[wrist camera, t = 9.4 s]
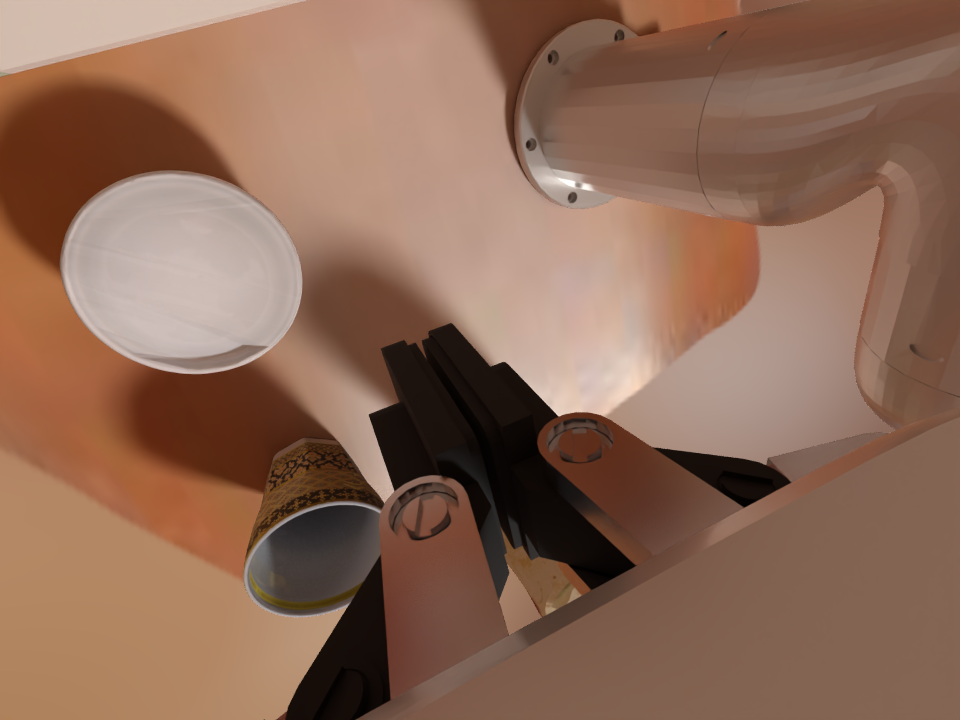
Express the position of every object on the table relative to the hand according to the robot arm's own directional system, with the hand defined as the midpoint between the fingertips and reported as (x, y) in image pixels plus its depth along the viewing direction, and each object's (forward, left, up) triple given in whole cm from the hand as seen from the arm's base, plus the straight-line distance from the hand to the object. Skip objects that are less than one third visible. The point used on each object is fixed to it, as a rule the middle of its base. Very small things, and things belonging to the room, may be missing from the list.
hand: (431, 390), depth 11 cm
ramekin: (+7, 0, -25) cm, 26 cm away
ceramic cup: (+8, +20, -25) cm, 33 cm away
